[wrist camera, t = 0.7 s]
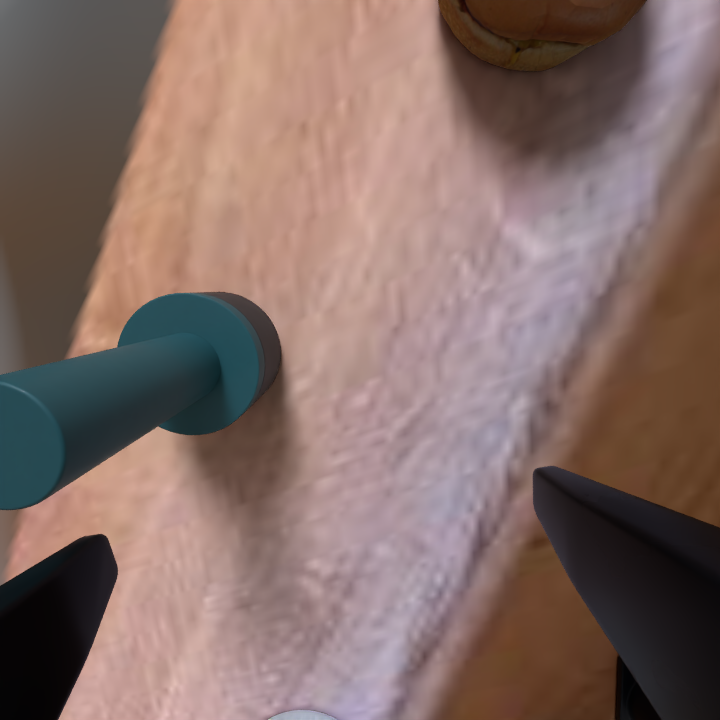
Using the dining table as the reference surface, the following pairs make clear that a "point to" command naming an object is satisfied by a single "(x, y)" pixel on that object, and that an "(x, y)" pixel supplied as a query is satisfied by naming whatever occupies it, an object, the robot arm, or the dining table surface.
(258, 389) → the teal peg stand
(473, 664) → the dining table surface
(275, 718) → the ramekin
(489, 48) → the burger
